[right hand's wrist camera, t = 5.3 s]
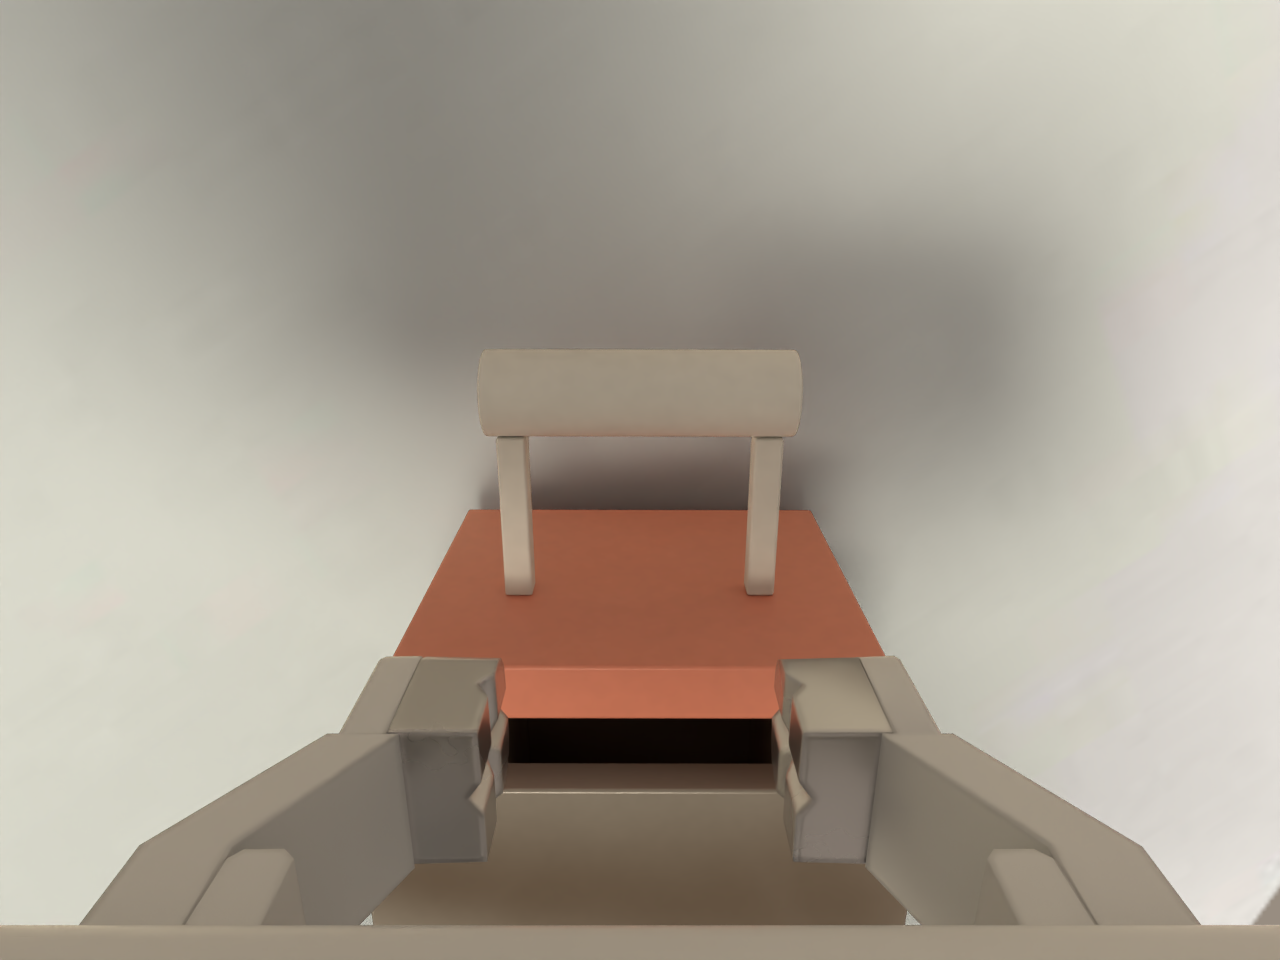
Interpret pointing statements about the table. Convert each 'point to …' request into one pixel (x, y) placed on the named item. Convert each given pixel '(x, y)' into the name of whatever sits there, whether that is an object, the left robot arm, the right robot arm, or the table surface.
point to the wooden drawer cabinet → (639, 856)
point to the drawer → (639, 567)
